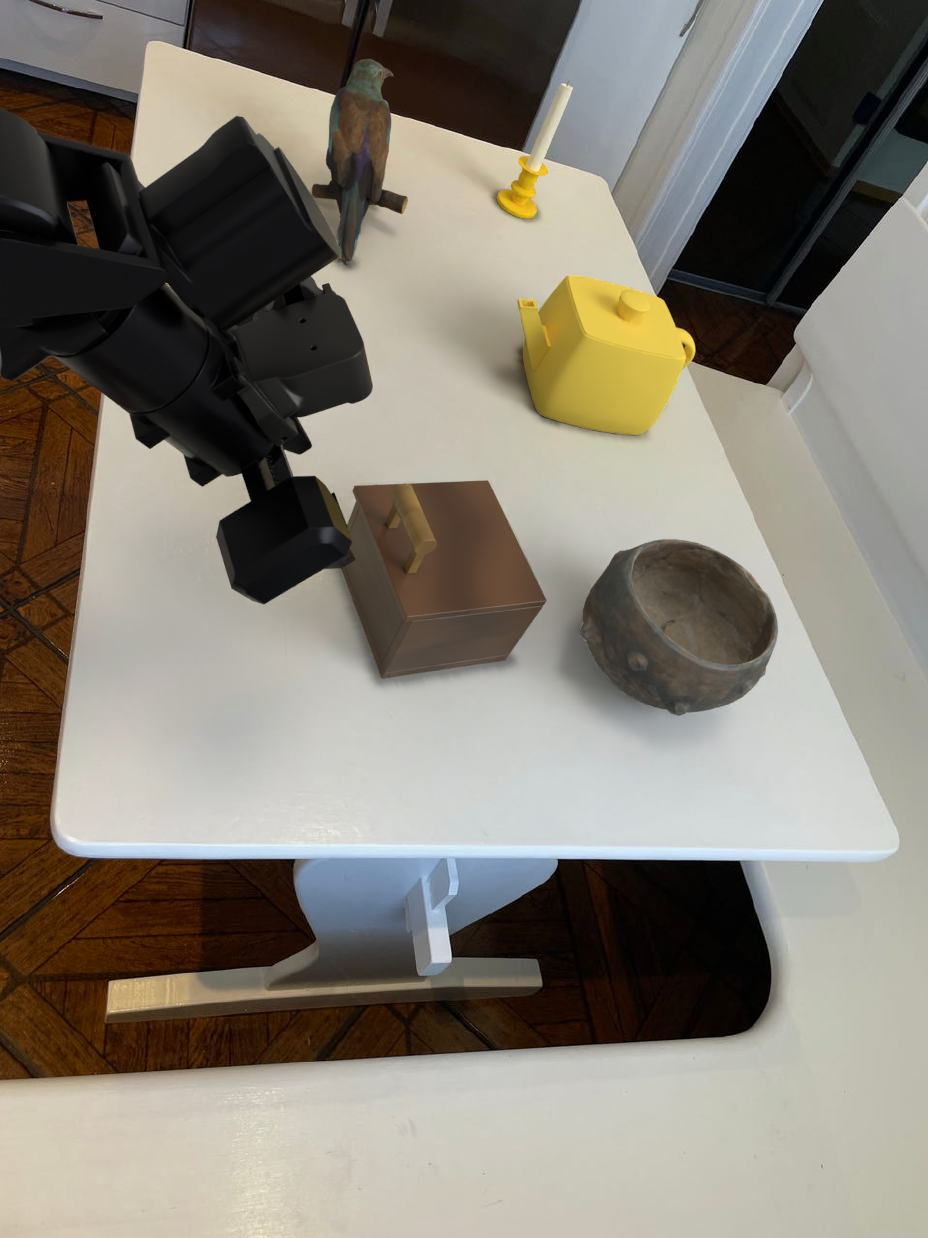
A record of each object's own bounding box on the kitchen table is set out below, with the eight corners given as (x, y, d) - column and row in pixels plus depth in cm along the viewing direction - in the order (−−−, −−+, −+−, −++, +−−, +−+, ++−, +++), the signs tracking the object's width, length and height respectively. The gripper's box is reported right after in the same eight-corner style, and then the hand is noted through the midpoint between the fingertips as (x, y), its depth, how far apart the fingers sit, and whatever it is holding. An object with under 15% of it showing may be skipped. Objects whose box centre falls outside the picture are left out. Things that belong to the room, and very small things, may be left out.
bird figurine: (399, 278, 96) (447, 64, 89) (304, 252, 93) (346, 29, 86) (383, 271, 108) (424, 82, 101) (298, 248, 105) (335, 52, 98)
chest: (381, 679, 67) (411, 622, 62) (335, 553, 73) (359, 490, 67) (505, 660, 72) (543, 606, 67) (453, 544, 78) (485, 485, 72)
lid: (403, 622, 61) (424, 582, 58) (351, 490, 67) (368, 447, 63) (544, 605, 67) (570, 568, 64) (485, 485, 72) (506, 444, 69)
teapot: (494, 414, 90) (543, 314, 81) (477, 332, 97) (521, 232, 88) (670, 448, 97) (734, 360, 88) (643, 369, 104) (699, 280, 95)
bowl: (748, 723, 77) (824, 659, 70) (602, 761, 70) (670, 693, 62) (669, 590, 84) (731, 518, 76) (527, 611, 76) (580, 533, 69)
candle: (491, 189, 116) (541, 62, 104) (527, 196, 118) (581, 72, 106) (504, 215, 113) (557, 87, 101) (540, 221, 115) (597, 97, 104)
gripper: (360, 412, 38) (493, 557, 52) (248, 147, 47) (388, 331, 60) (146, 546, 40) (327, 652, 54) (77, 269, 49) (248, 421, 62)
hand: (326, 503), depth 57 cm, fingers open, 9 cm apart
